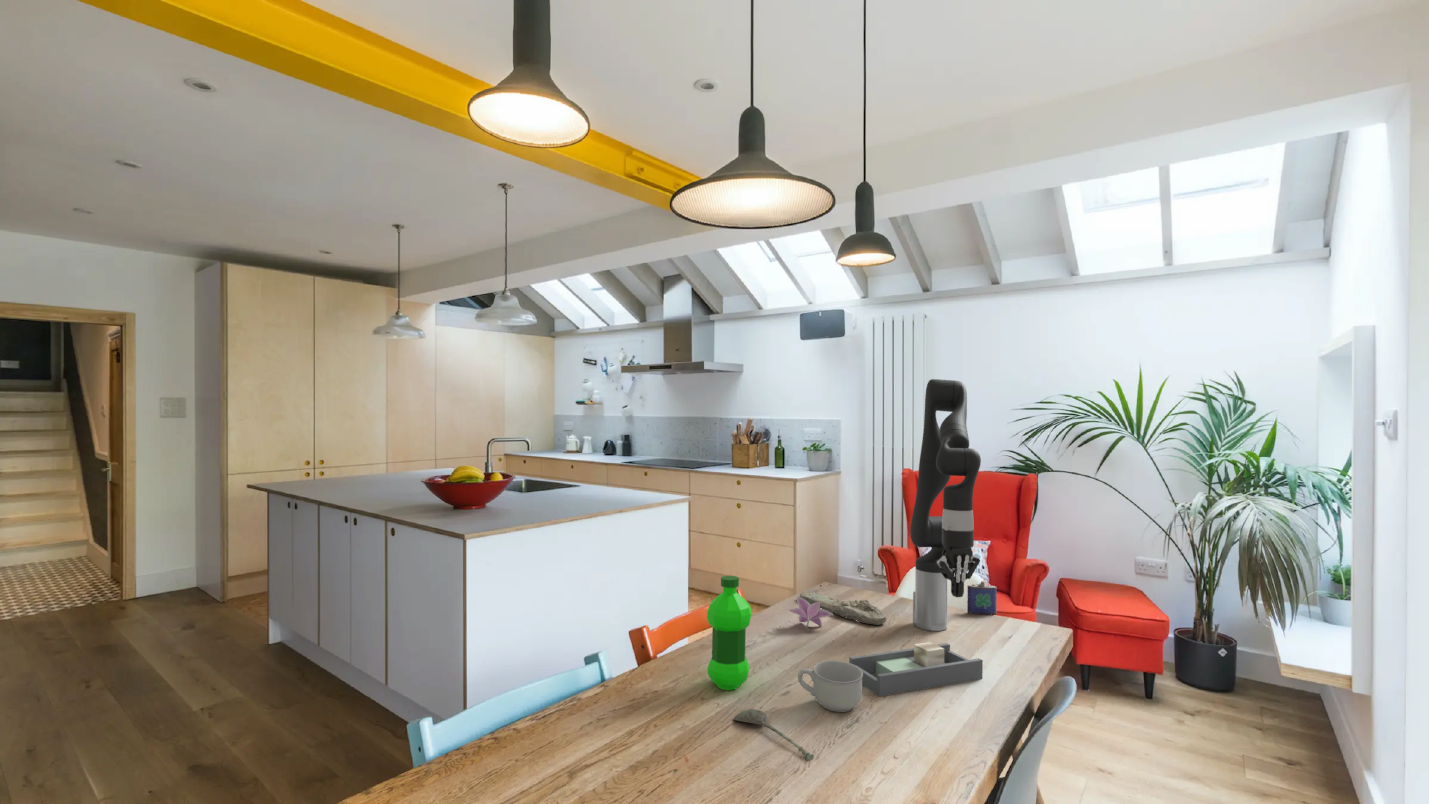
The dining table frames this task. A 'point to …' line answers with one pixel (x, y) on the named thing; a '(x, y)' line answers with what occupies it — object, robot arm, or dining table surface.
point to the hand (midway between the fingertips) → (957, 596)
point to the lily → (810, 612)
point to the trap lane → (913, 671)
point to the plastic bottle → (729, 636)
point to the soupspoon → (761, 719)
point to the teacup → (834, 684)
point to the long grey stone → (847, 608)
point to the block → (928, 654)
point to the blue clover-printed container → (982, 599)
